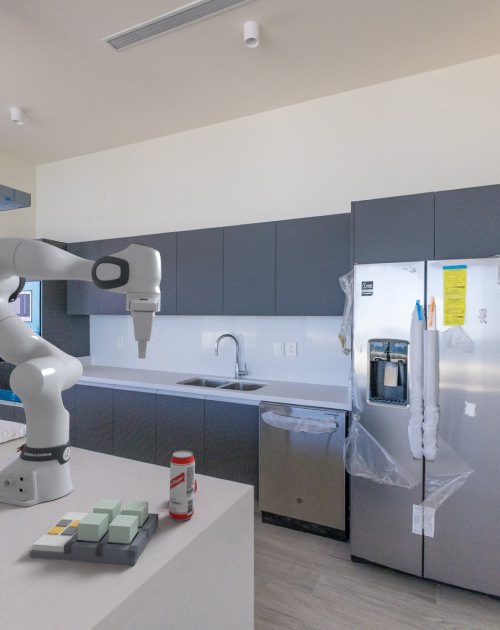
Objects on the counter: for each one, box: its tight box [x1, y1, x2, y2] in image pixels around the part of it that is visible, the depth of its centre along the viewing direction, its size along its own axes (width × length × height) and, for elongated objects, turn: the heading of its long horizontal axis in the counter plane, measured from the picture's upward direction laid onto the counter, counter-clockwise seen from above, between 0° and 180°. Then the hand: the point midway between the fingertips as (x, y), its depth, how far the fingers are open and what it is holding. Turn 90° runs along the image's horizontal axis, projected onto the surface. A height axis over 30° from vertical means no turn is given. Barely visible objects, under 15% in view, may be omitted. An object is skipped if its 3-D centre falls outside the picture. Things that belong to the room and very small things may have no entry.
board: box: [29, 511, 159, 566], centre depth 88 cm, size 23×15×3 cm
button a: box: [78, 512, 108, 541], centre depth 85 cm, size 5×5×4 cm
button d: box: [121, 500, 149, 526], centre depth 91 cm, size 5×5×4 cm
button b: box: [92, 498, 122, 524], centre depth 92 cm, size 5×5×4 cm
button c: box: [108, 515, 138, 544], centre depth 84 cm, size 5×5×4 cm
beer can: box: [168, 449, 196, 522], centre depth 100 cm, size 6×6×16 cm
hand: (141, 356), depth 104 cm, fingers open, 8 cm apart
